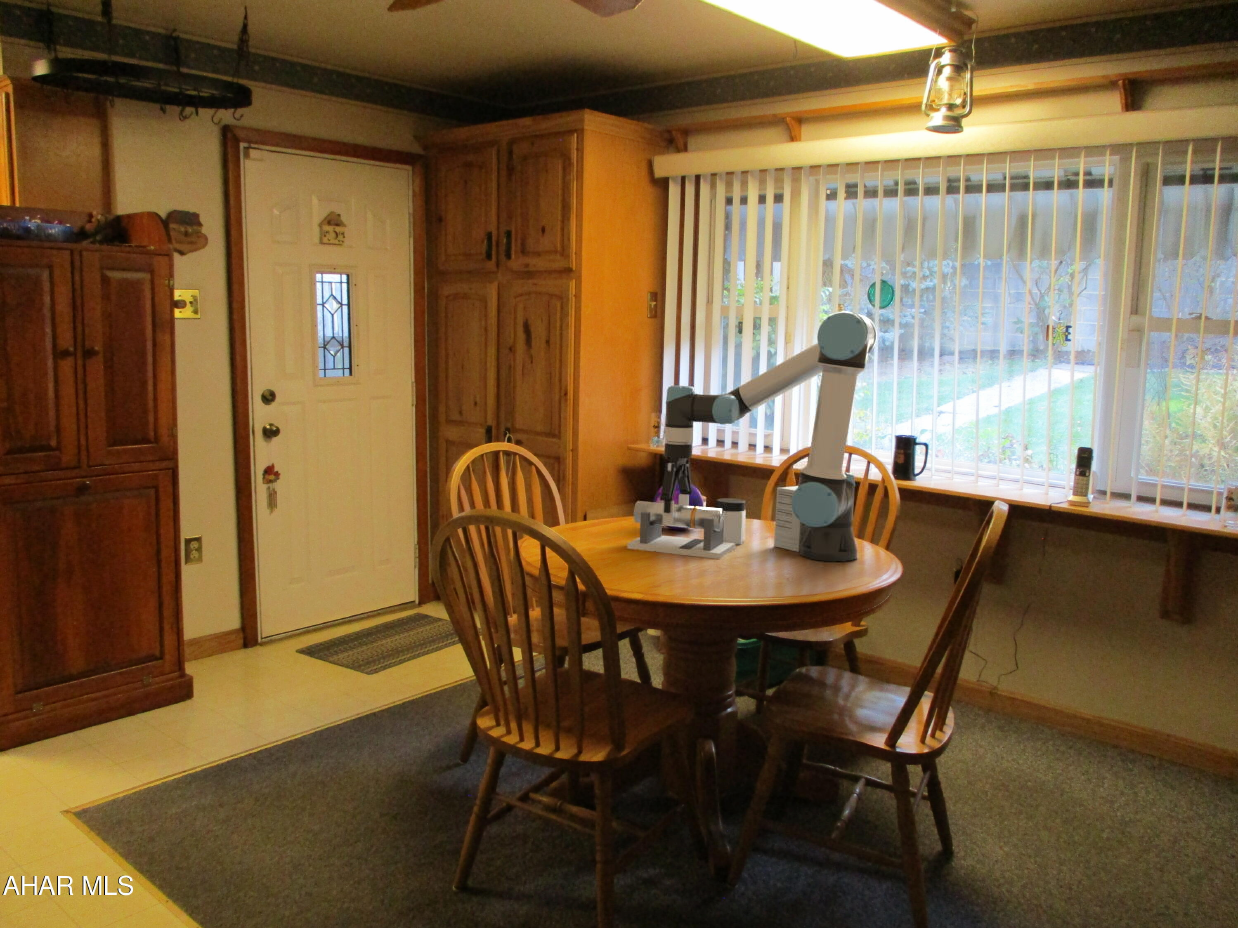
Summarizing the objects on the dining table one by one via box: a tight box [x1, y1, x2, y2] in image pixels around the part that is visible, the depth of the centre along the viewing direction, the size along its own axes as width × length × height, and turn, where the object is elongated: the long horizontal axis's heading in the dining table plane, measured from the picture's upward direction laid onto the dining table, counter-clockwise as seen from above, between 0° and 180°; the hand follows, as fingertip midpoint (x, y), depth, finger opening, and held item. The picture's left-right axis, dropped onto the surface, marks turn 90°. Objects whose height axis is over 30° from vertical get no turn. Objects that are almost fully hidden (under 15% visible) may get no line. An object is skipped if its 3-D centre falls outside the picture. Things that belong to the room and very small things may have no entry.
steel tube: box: [633, 500, 724, 531], centre depth 262 cm, size 24×6×6 cm, turn 68°
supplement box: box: [773, 485, 808, 553], centre depth 268 cm, size 10×9×17 cm
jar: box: [715, 497, 747, 545], centre depth 274 cm, size 9×8×12 cm
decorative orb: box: [653, 481, 703, 531], centre depth 290 cm, size 15×15×15 cm
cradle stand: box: [626, 511, 736, 560], centre depth 262 cm, size 26×15×10 cm, turn 68°
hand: (675, 521), depth 263 cm, fingers open, 12 cm apart
